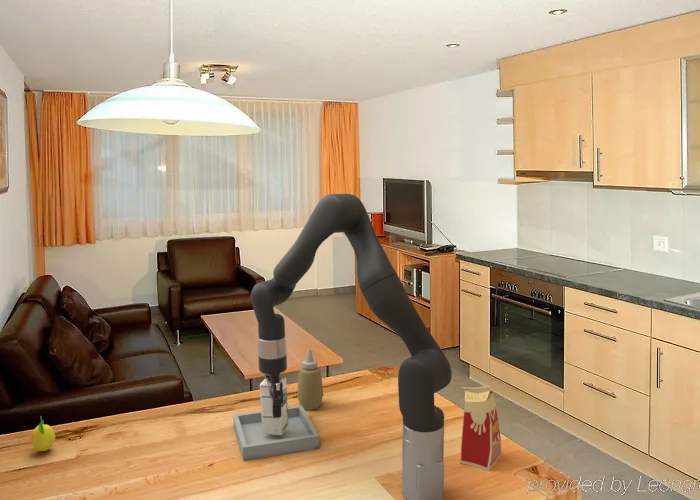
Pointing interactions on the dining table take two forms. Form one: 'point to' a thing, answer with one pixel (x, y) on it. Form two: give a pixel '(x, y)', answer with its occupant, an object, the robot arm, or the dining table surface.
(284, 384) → the syrup box
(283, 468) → the dining table surface
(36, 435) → the lemon
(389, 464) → the dining table surface
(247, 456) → the tray
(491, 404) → the milk carton
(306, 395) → the squeeze bottle
